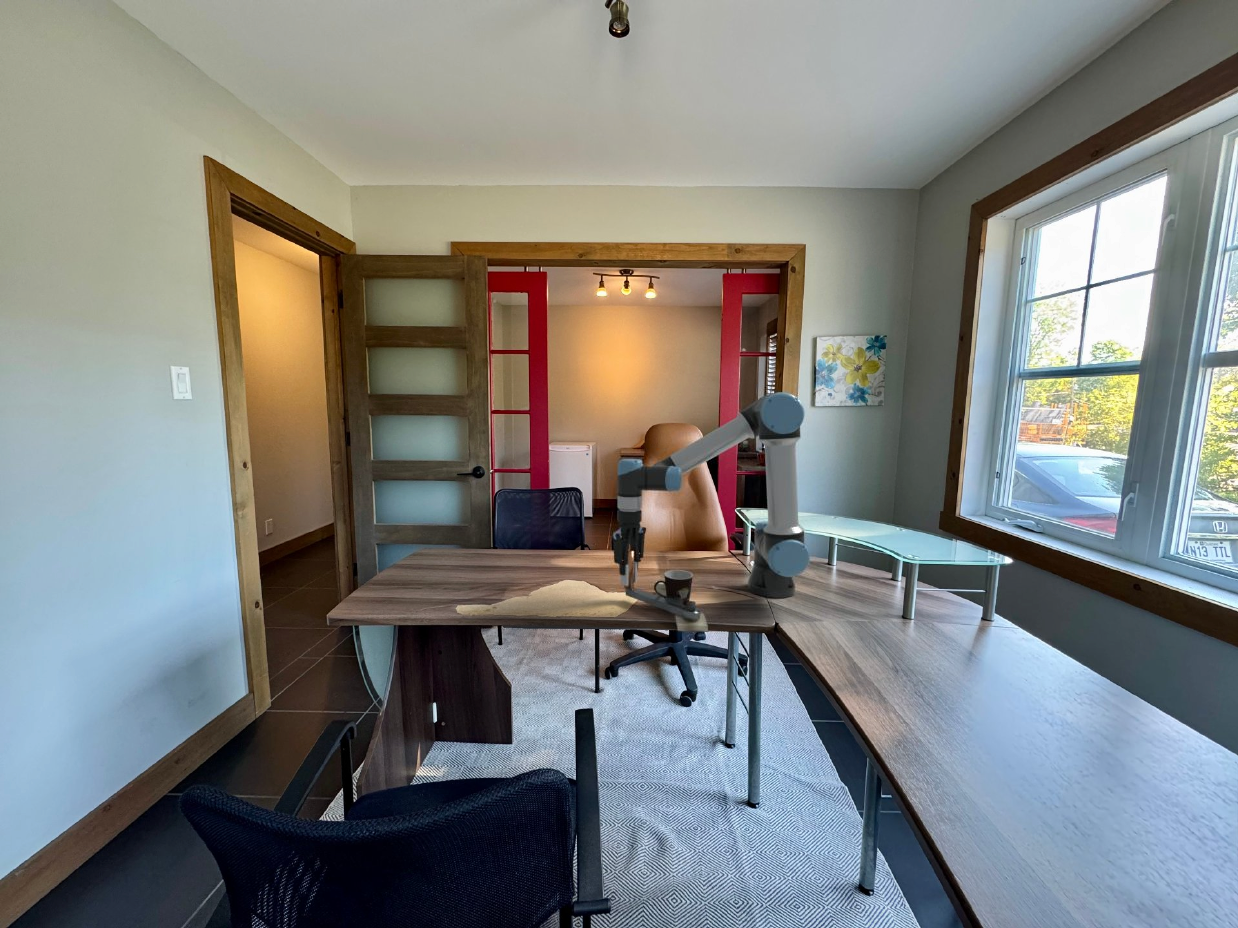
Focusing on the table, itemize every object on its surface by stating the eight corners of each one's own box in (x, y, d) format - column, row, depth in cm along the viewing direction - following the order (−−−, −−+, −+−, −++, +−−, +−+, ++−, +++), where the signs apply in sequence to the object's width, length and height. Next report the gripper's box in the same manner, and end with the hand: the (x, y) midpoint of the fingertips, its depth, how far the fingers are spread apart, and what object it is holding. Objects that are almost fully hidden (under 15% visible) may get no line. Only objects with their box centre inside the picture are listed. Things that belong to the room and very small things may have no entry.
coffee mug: (691, 601, 146) (692, 570, 145) (693, 612, 137) (693, 579, 136) (654, 599, 147) (654, 569, 146) (653, 611, 139) (653, 578, 138)
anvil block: (685, 593, 153) (686, 581, 152) (686, 596, 150) (686, 584, 150) (655, 592, 153) (655, 581, 153) (655, 595, 150) (655, 583, 150)
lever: (706, 617, 130) (707, 566, 129) (693, 624, 126) (694, 571, 125) (633, 590, 150) (633, 546, 149) (619, 596, 146) (619, 550, 144)
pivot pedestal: (703, 618, 133) (703, 597, 133) (707, 631, 125) (708, 608, 125) (675, 618, 134) (675, 596, 133) (677, 630, 126) (678, 607, 125)
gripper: (638, 504, 152) (637, 574, 154) (601, 510, 141) (601, 586, 143) (656, 507, 147) (655, 579, 149) (619, 514, 135) (618, 592, 137)
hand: (628, 582), depth 146 cm, fingers closed on lever, 3 cm apart
